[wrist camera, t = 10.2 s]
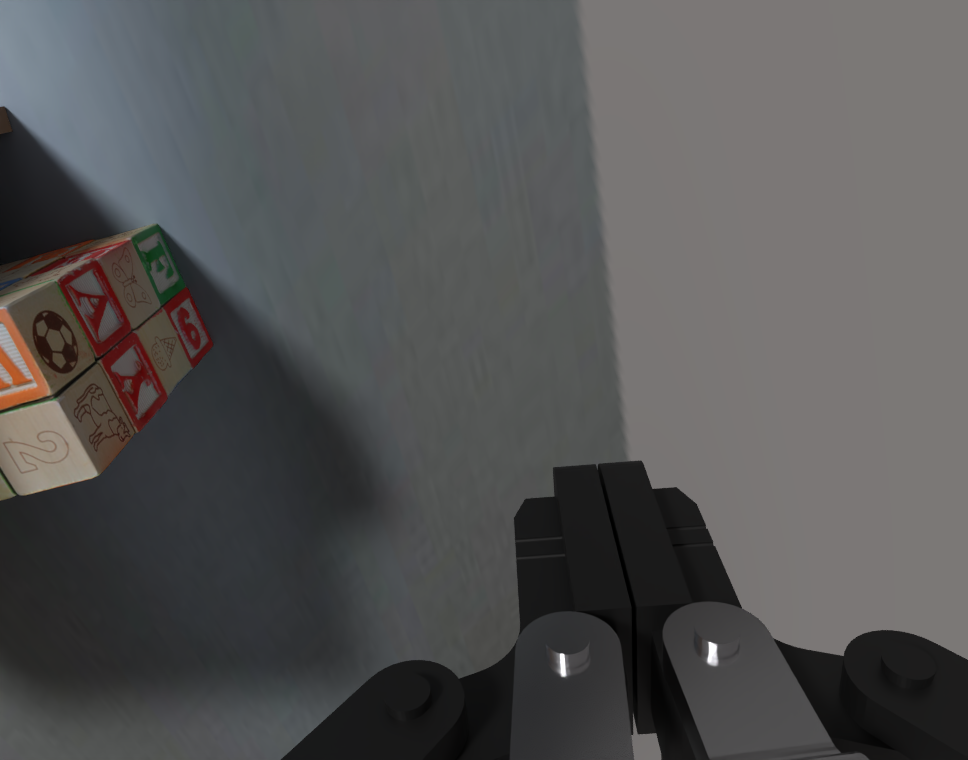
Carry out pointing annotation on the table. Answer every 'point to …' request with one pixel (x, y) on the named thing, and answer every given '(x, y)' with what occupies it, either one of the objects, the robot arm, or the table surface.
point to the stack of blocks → (89, 354)
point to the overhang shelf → (4, 121)
